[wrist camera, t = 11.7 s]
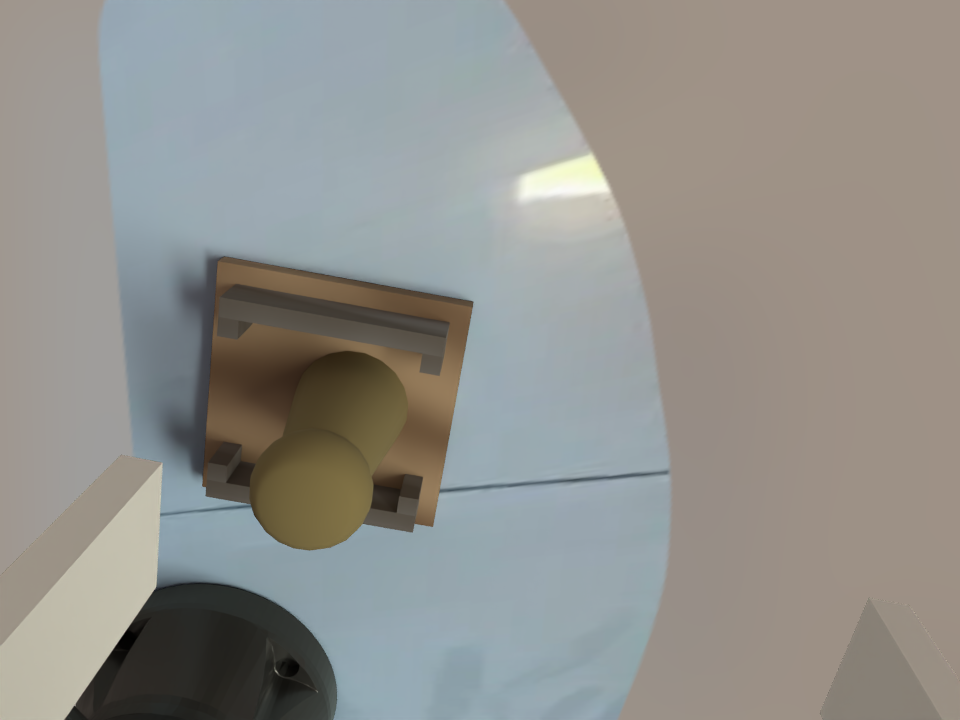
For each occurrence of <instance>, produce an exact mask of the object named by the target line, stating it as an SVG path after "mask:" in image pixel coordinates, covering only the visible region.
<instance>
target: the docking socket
mask: <svg viewBox="0 0 960 720" xmlns="http://www.w3.org/2000/svg"><path fill="white" fill-rule="evenodd" d="M472 308H473V302H472V301H466V300H461V299H455V298H450V297H444V296H439V295H433V294H428V293H422V292H417V291H411V290H406V289H400V288H395V287H389V286H384V285H378V284H373V283H367V282H362V281H356V280H351V279H345V278H340V277H334V276H329V275H323V274H318V273H312V272H307V271H301V270H296V269H290V268H285V267H279V266H274V265H268V264H262V263H257V262H251V261H246V260H240V259H235V258H229V257H223V258H221V259H220V260H219V261H218V265H217V279H216V294H215V309H214V323H213V338H212V352H211V367H210V382H209V396H208V411H207V426H206V440H205V455H204V469H203V484H202V486H203V487H206V496H207V497H212V498H218V499H224V500H230V501H235V502H241V503H247V504H251V503H250V500H249V492H250V478H251V474H252V472H253V469H254V467H255V465H256V462H257V460H258V459H259V457H260V456H261V454H262V453H263V452H264V451H265V450H266V449H267V448H268V447H269V446H270V445H271V444H272V443H273V442H274V441H276V440H278V439H279V438H281V437H282V436H283V432H284V429H285V426H286V422H287V419H288V415H289V412H290V408H291V405H292V402H293V398H294V395H295V391H296V388H297V386H298V383H299V381H300V379H301V377H302V374H303V373H304V372H305V371H306V370H307V369H308V368H309V366H310V365H311V364H312V363H313V362H314V361H316V360H318V359H320V358H322V357H324V356H326V355H328V354H330V353H336V352H342V351H353V352H360V353H366V354H368V355H370V356H372V357H375V358H377V359H379V360H381V361H383V362H384V363H385V364H386V365H387V366H388V367H389V368H391V369H392V370H393V371H394V372H395V373H396V374H397V376H398V378H399V379H400V381H401V383H402V384H403V386H404V388H405V392H406V396H407V401H408V411H407V420H406V422H405V424H404V426H403V428H402V430H401V432H400V434H399V436H398V437H397V439H396V440H395V442H394V443H393V445H392V446H391V448H390V449H389V451H388V452H387V454H386V455H385V457H384V459H383V460H382V462H381V463H380V465H379V466H378V468H377V469H376V471H375V472H374V474H373V475H372V480H373V495H372V503H371V507H370V510H369V512H368V514H367V516H366V518H365V520H364V522H363V524H367V525H372V526H378V527H384V528H390V529H395V530H401V531H407V532H412V533H413V529H414V524H419V525H425V526H431V527H433V523H434V518H435V512H436V507H437V501H438V496H439V490H440V485H441V479H442V474H443V468H444V463H445V457H446V451H447V446H448V440H449V435H450V429H451V424H452V418H453V413H454V407H455V402H456V396H457V391H458V385H459V380H460V374H461V368H462V363H463V357H464V352H465V346H466V341H467V335H468V330H469V324H470V319H471V313H472Z"/></svg>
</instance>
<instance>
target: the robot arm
mask: <svg viewBox="0 0 960 720" xmlns="http://www.w3.org/2000/svg"><path fill="white" fill-rule="evenodd" d="M161 483H162V463H161V462H156V461H151V460H145V459H140V458H135V457H129V456H125V455H120V457H118V458H117V459H116V460H115V461H114V462H113V463H112V464H111V465H110V466H109V467H108V468H107V469H106V470H105V471H104V472H103V473H102V474H101V475H100V476H99V477H98V478H97V479H96V480H95V481H94V482H93V483H92V484H91V485H90V486H89V487H88V488H87V489H86V490H85V491H84V492H83V493H82V494H81V495H80V496H79V497H78V498H77V499H76V500H75V501H74V502H73V503H72V504H71V505H70V506H69V507H68V508H67V509H66V510H65V511H64V512H63V513H62V514H61V515H60V516H59V517H58V518H57V519H56V520H55V521H54V523H52V524H51V525H50V526H49V527H48V528H47V529H46V530H45V531H44V532H43V534H41V535H40V536H39V537H38V538H37V539H36V540H35V541H34V542H33V543H32V544H31V545H30V546H29V548H27V549H26V550H25V551H24V552H23V553H22V554H21V555H20V556H19V557H18V558H17V559H16V560H15V561H14V562H13V563H12V564H11V565H10V566H9V567H8V568H7V569H6V570H5V571H4V572H3V573H2V574H1V575H0V720H333V719H334V715H335V711H336V704H337V687H336V681H335V676H334V672H333V669H332V666H331V664H330V661H329V659H328V657H327V655H326V653H325V651H324V650H323V648H322V647H321V645H320V644H319V642H318V641H317V639H316V638H315V637H314V636H313V634H312V633H311V632H310V631H309V630H308V629H307V628H306V627H305V626H304V625H303V624H302V623H301V622H300V621H299V620H297V619H296V618H295V617H294V616H292V615H291V614H290V613H288V612H287V611H286V610H284V609H282V608H281V607H279V606H278V605H276V604H274V603H272V602H270V601H268V600H266V599H264V598H262V597H260V596H257V595H255V594H252V593H249V592H246V591H243V590H239V589H236V588H231V587H226V586H220V585H210V584H188V585H179V586H174V587H169V588H165V589H161V590H158V591H155V592H153V591H154V590H155V588H156V584H157V564H158V544H159V524H160V503H161ZM152 592H153V593H152ZM75 704H76V706H74V705H75ZM820 714H821V717H822V719H823V720H960V680H959V679H958V677H957V676H956V674H955V673H954V671H953V670H952V668H951V667H950V665H949V664H948V662H947V661H946V659H945V658H944V656H943V655H942V653H941V652H940V650H939V649H938V647H937V646H936V644H935V643H934V641H933V640H932V638H931V637H930V635H929V634H928V632H927V631H926V629H925V628H924V626H923V625H922V623H921V622H920V620H919V619H918V617H917V616H916V614H915V613H914V611H913V610H912V608H911V607H910V605H904V604H899V603H894V602H889V601H884V600H879V599H873V598H869V599H868V601H867V603H866V606H865V608H864V610H863V613H862V615H861V617H860V620H859V622H858V624H857V627H856V629H855V631H854V634H853V636H852V639H851V641H850V643H849V645H848V648H847V650H846V653H845V655H844V657H843V660H842V662H841V664H840V667H839V669H838V672H837V674H836V676H835V678H834V681H833V683H832V685H831V688H830V690H829V692H828V695H827V697H826V699H825V702H824V704H823V707H822V709H821V711H820Z"/></svg>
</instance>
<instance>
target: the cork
mask: <svg viewBox="0 0 960 720" xmlns="http://www.w3.org/2000/svg"><path fill="white" fill-rule="evenodd" d="M407 411H408V401H407V396H406V392H405V388H404V386H403V384H402V383H401V381H400V379H399V378H398V376H397V374H396V373H395V372H394V371H393V370H392V369H391V368H389V367H388V366H387V365H386V364H385V363H384V362H383V361H381V360H379V359H377V358H375V357H372V356H370V355H368V354H366V353H360V352H353V351H342V352H336V353H330V354H328V355H326V356H324V357H322V358H320V359H318V360H316V361H314V362H313V363H312V364H311V365H310V366H309V368H308V369H307V370H306V371H305V372H304V373H303V374H302V377H301V379H300V381H299V383H298V386H297V388H296V391H295V395H294V398H293V402H292V405H291V408H290V412H289V415H288V419H287V422H286V426H285V429H284V432H283V436H282V437H281V438H279V439H278V440H276V441H274V442H273V443H272V444H271V445H270V446H269V447H268V448H267V449H266V450H265V451H264V452H263V453H262V454H261V456H260V457H259V459H258V460H257V462H256V465H255V467H254V469H253V472H252V474H251V478H250V492H249V500H250V503H251V506H252V510H253V513H254V516H255V517H256V518H257V520H258V521H259V523H260V524H261V526H262V527H263V528H264V530H265V531H266V532H267V533H268V534H269V535H271V536H272V537H273V538H274V539H276V540H277V541H278V542H280V543H283V544H285V545H287V546H290V547H292V548H296V549H303V550H316V549H324V548H330V547H333V546H335V545H337V544H339V543H341V542H343V541H346V540H347V539H348V538H349V537H350V536H351V535H352V534H353V533H354V532H355V531H356V530H357V529H358V528H359V527H360V526H361V525H362V524H363V522H364V520H365V518H366V516H367V514H368V512H369V510H370V507H371V503H372V495H373V480H372V475H373V474H374V472H375V471H376V469H377V468H378V466H379V465H380V463H381V462H382V460H383V459H384V457H385V455H386V454H387V452H388V451H389V449H390V448H391V446H392V445H393V443H394V442H395V440H396V439H397V437H398V436H399V434H400V432H401V430H402V428H403V426H404V424H405V422H406V420H407Z"/></svg>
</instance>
